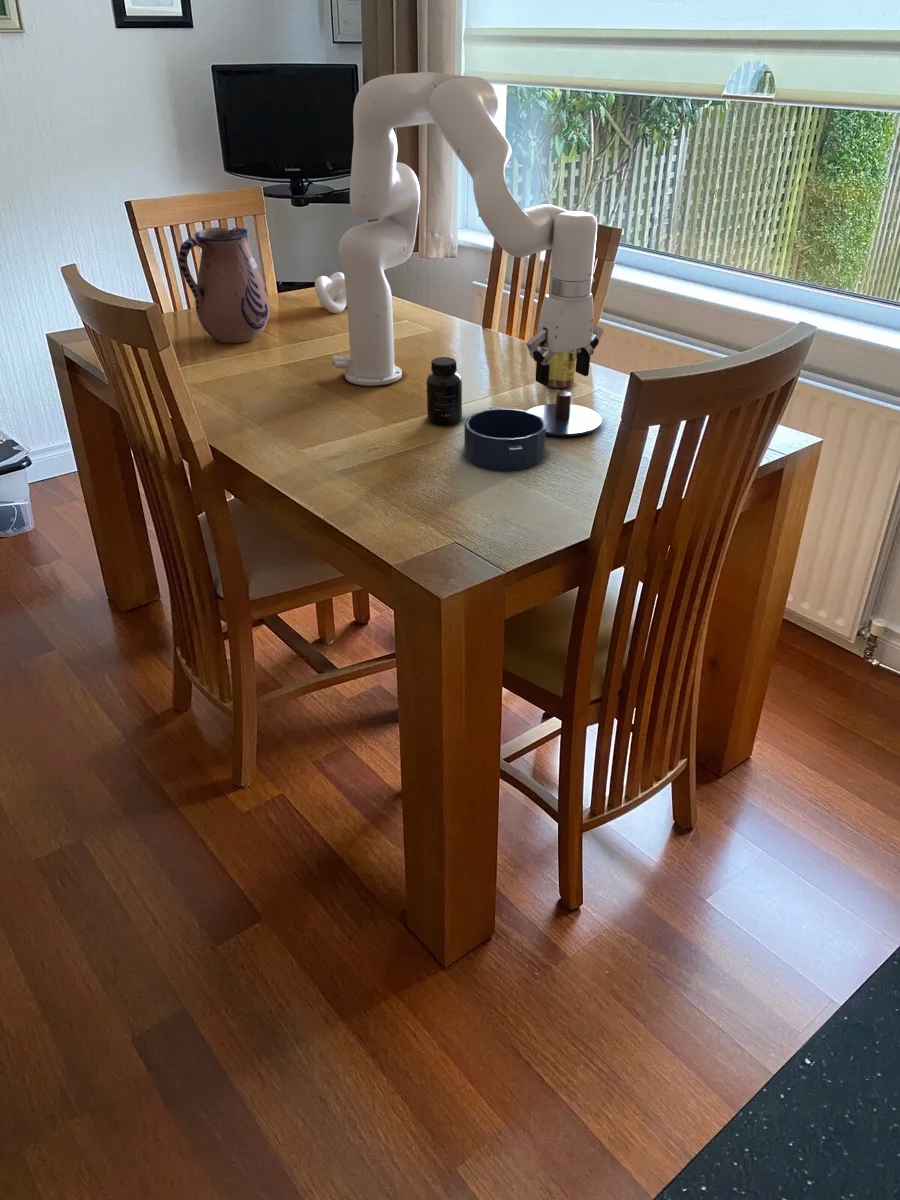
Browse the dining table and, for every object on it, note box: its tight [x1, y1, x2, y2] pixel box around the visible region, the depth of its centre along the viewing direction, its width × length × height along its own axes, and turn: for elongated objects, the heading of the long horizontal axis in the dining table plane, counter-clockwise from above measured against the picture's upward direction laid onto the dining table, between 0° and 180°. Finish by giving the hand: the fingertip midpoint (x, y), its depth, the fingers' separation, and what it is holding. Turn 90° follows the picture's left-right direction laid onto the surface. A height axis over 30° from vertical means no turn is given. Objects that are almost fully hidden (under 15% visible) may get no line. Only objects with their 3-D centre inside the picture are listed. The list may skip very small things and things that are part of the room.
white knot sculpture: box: [314, 271, 347, 314], centre depth 240 cm, size 11×12×9 cm
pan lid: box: [527, 390, 603, 437], centre depth 173 cm, size 15×15×6 cm
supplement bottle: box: [426, 356, 463, 427], centre depth 174 cm, size 7×7×12 cm
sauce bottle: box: [547, 349, 577, 389], centre depth 188 cm, size 7×6×20 cm
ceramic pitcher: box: [178, 226, 271, 344], centre depth 214 cm, size 18×21×25 cm
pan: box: [463, 406, 547, 472], centre depth 161 cm, size 14×20×6 cm
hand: (562, 378), depth 171 cm, fingers open, 9 cm apart
